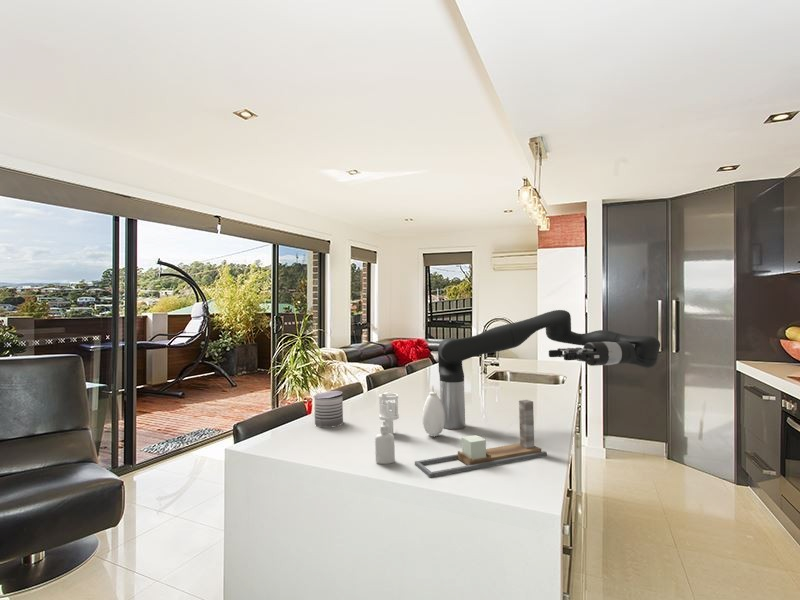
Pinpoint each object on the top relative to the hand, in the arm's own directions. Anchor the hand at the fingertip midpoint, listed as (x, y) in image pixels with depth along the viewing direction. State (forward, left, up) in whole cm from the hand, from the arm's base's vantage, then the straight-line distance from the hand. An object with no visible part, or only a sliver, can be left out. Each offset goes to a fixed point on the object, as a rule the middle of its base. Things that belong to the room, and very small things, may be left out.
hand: (556, 355), depth 135 cm
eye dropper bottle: (-13, -53, -30) cm, 62 cm away
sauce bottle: (-29, -29, -30) cm, 51 cm away
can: (-62, -59, -30) cm, 91 cm away
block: (-2, -30, -28) cm, 41 cm away
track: (-2, -26, -29) cm, 40 cm away
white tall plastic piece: (-39, -42, -30) cm, 65 cm away
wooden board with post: (-2, -21, -29) cm, 36 cm away
